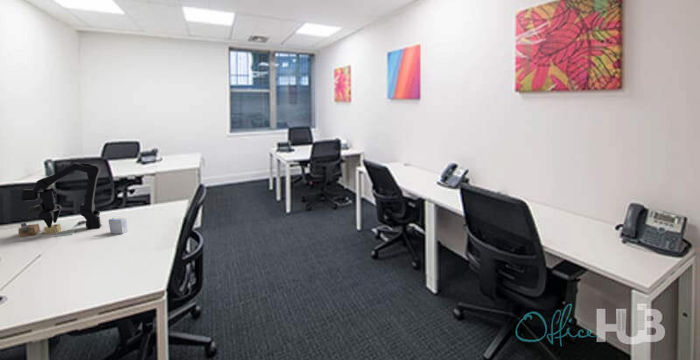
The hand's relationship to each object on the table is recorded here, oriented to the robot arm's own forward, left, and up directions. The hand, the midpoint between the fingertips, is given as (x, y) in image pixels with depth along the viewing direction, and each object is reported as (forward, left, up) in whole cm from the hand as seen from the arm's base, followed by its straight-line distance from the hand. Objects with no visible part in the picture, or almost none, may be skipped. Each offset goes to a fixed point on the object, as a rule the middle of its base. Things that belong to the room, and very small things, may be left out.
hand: (52, 225), depth 198 cm
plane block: (+11, -2, -4) cm, 12 cm away
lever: (+11, +4, +1) cm, 12 cm away
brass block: (0, 0, -4) cm, 5 cm away
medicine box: (-35, +17, -4) cm, 39 cm away
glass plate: (-7, +6, -4) cm, 10 cm away
